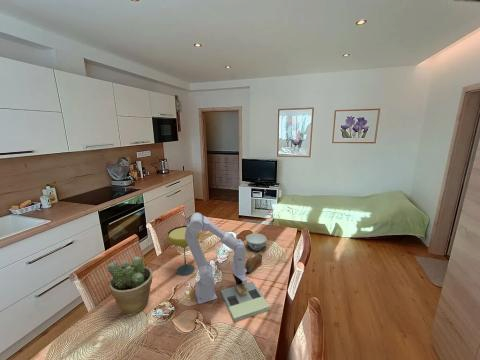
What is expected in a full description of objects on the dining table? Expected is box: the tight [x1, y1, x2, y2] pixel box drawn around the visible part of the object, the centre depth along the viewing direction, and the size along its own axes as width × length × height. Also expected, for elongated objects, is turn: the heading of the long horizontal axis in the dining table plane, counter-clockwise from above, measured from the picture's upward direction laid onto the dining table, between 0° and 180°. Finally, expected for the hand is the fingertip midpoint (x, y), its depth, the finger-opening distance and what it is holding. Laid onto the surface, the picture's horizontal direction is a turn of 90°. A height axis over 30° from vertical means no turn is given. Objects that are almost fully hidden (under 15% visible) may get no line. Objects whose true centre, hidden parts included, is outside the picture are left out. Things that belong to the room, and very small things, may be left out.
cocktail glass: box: [166, 225, 200, 277], centre depth 130 cm, size 18×18×25 cm
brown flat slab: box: [245, 252, 263, 274], centre depth 134 cm, size 15×3×8 cm, turn 141°
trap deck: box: [220, 280, 271, 323], centre depth 108 cm, size 18×19×2 cm
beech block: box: [237, 283, 247, 297], centre depth 111 cm, size 4×4×4 cm
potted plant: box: [106, 256, 153, 315], centre depth 103 cm, size 18×19×25 cm
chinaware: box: [245, 233, 268, 251], centre depth 157 cm, size 15×15×8 cm
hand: (239, 287), depth 114 cm, fingers closed
